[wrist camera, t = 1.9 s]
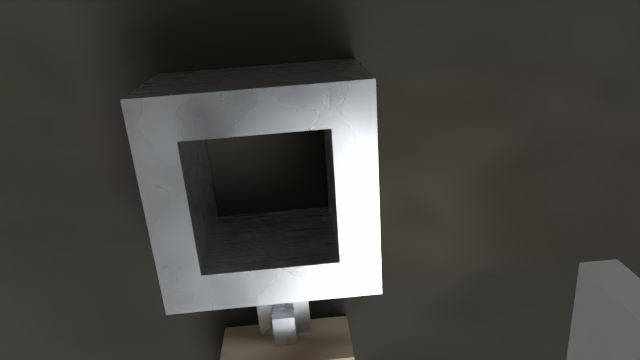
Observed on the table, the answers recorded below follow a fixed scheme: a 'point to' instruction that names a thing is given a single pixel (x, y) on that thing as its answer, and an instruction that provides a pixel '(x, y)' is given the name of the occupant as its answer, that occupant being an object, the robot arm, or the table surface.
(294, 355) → the beige box with knob
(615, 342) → the robot arm
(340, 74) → the link
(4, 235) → the table surface
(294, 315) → the wall hook
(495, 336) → the table surface
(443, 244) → the table surface
